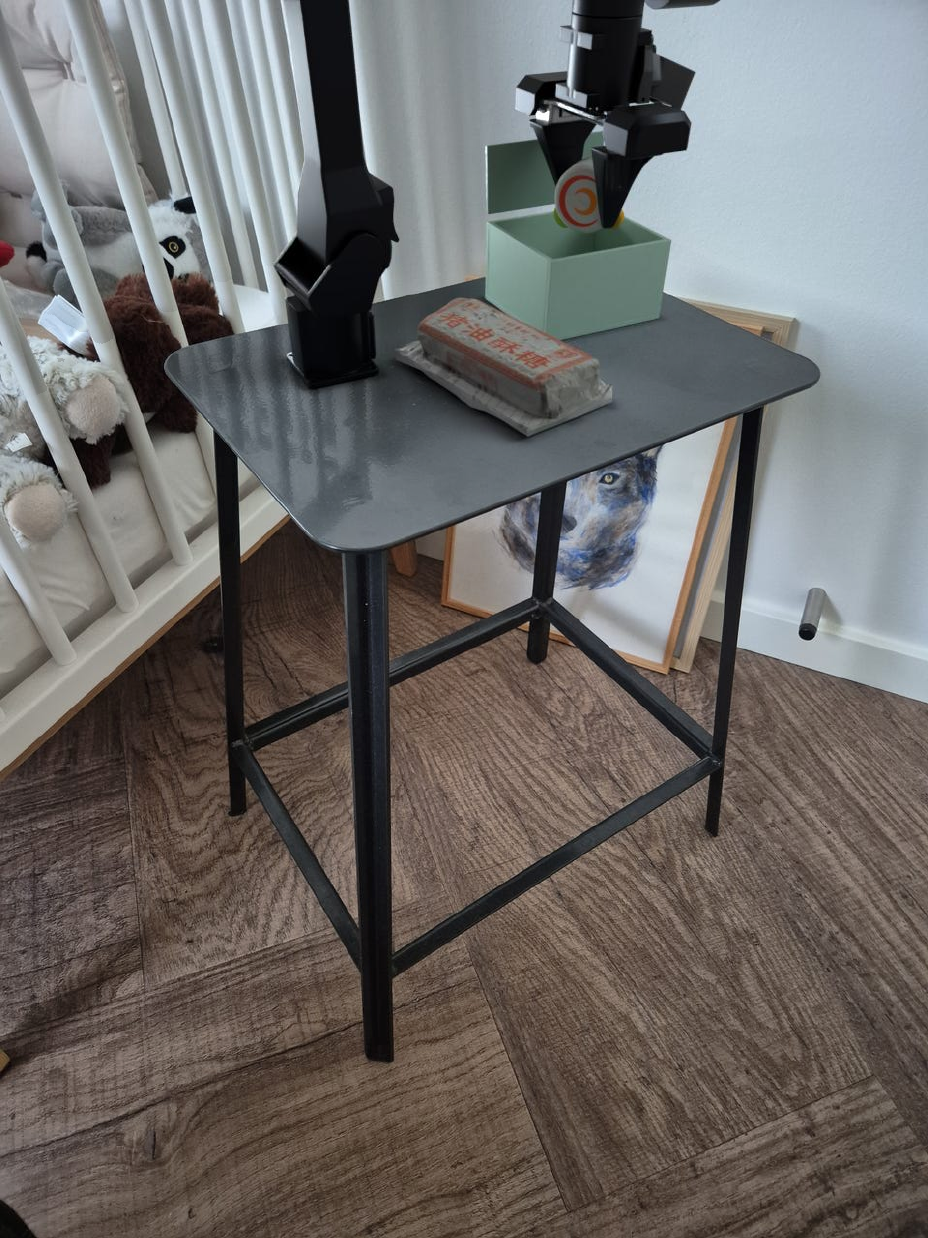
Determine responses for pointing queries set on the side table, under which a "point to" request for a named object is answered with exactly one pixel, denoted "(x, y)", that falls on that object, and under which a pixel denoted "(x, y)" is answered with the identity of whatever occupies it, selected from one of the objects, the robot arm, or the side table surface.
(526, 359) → the packaged product
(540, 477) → the side table surface
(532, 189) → the green box lid
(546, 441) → the side table surface
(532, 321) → the pale green hollow box
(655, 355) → the side table surface
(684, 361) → the side table surface
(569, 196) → the roller toy
